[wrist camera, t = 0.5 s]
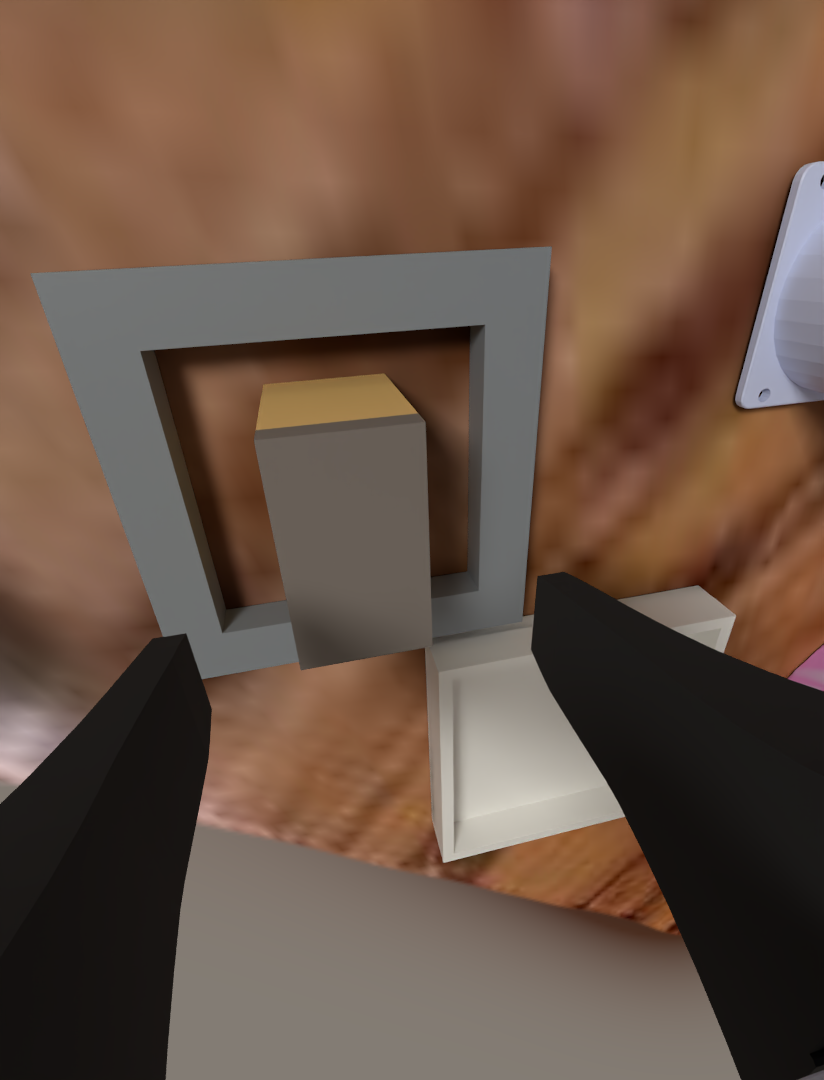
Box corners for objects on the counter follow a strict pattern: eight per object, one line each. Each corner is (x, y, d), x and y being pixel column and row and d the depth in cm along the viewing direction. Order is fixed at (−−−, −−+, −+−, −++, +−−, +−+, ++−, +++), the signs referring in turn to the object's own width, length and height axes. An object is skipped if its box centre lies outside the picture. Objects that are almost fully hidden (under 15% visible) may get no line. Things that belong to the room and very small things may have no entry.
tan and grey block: (384, 373, 17) (425, 421, 12) (396, 550, 21) (432, 646, 16) (263, 384, 17) (253, 440, 12) (297, 565, 20) (300, 670, 15)
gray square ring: (530, 247, 16) (551, 246, 15) (509, 601, 23) (522, 621, 22) (53, 271, 14) (30, 273, 13) (186, 656, 21) (180, 682, 20)
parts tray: (698, 585, 25) (736, 615, 23) (646, 768, 32) (672, 804, 30) (424, 634, 23) (438, 672, 21) (432, 819, 30) (443, 862, 28)
